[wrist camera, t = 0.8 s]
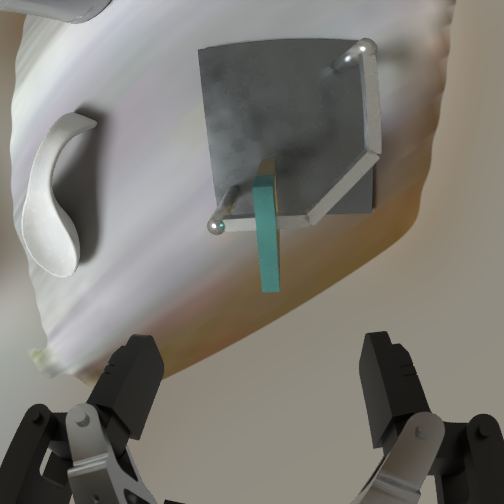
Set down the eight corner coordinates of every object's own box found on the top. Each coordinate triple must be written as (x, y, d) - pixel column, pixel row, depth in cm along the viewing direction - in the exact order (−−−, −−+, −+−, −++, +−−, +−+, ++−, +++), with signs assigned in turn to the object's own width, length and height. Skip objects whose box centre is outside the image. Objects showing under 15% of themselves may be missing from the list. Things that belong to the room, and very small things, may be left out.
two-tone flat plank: (261, 159, 26) (252, 187, 17) (274, 158, 26) (272, 186, 17) (267, 231, 30) (262, 292, 20) (279, 230, 29) (279, 291, 20)
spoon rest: (87, 278, 39) (62, 305, 33) (35, 247, 38) (8, 268, 31) (120, 128, 29) (86, 135, 22) (55, 104, 27) (18, 109, 21)
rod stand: (200, 51, 24) (164, 26, 15) (362, 43, 22) (400, 16, 13) (220, 217, 33) (198, 262, 23) (369, 209, 31) (403, 252, 21)
